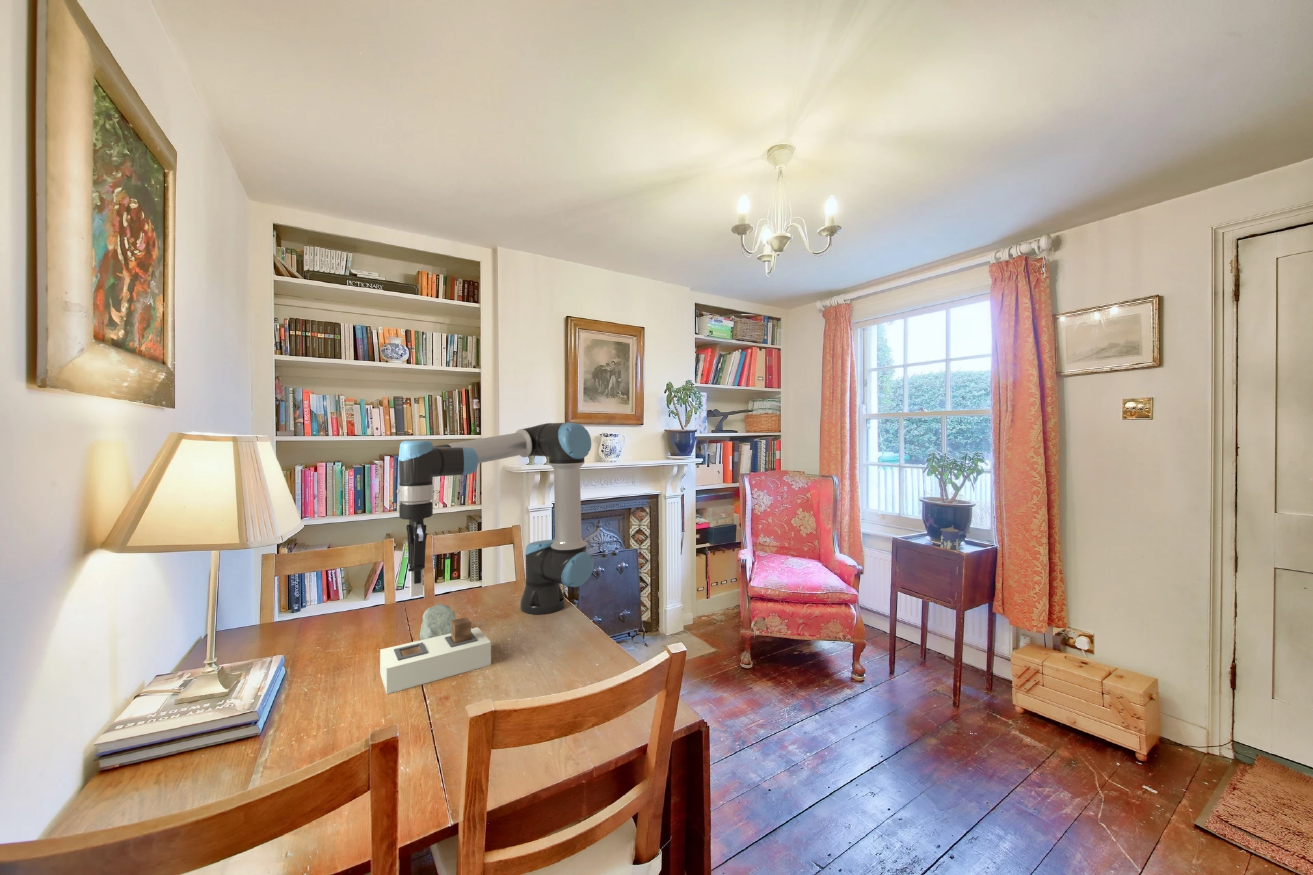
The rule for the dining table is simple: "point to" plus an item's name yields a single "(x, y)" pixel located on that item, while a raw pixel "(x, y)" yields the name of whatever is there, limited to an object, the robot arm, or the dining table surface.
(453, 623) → the peg
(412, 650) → the peg
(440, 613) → the decorative stone
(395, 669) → the socket block
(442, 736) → the dining table surface
